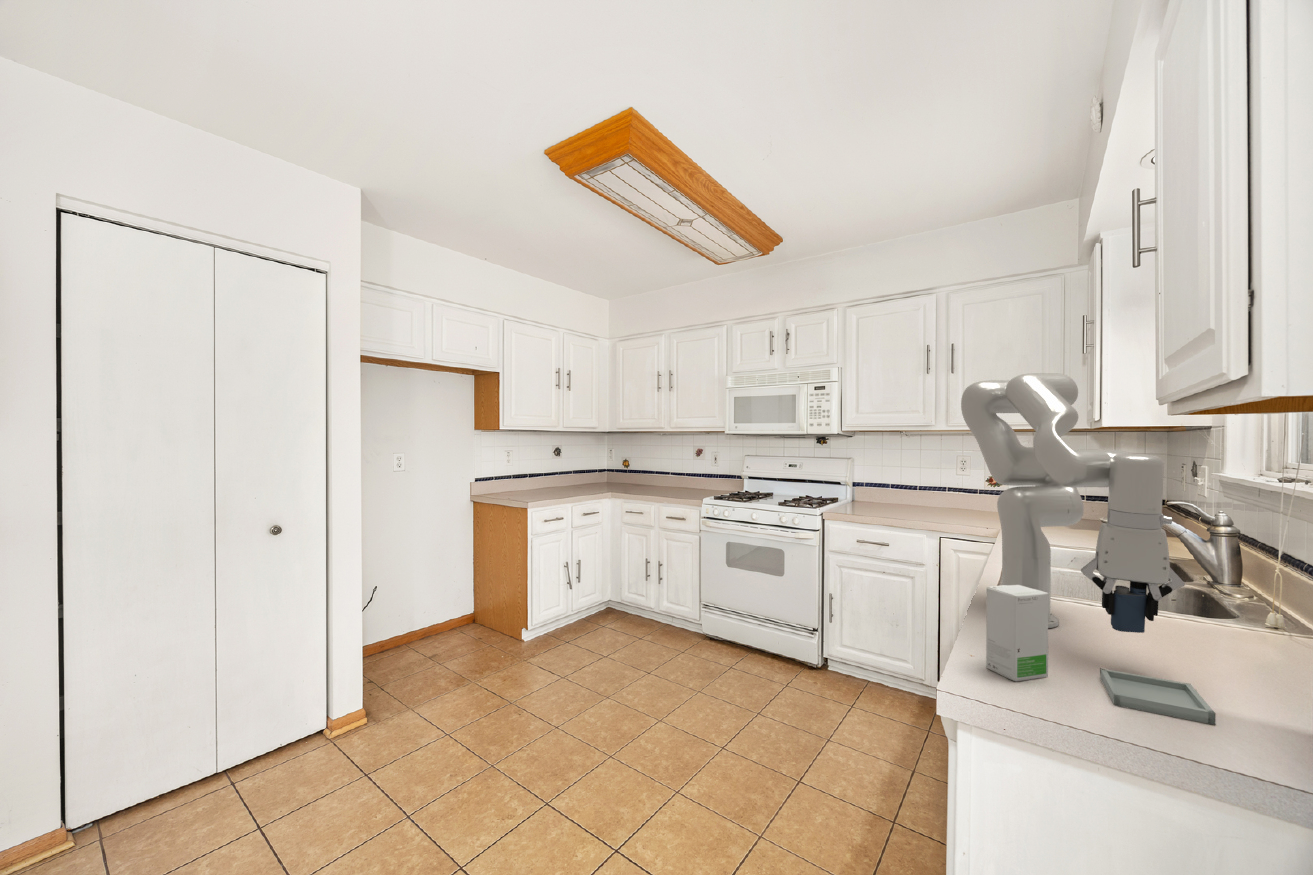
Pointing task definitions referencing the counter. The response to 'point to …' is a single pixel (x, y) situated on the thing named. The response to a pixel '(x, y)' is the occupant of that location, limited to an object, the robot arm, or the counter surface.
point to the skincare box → (1017, 632)
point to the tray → (1156, 696)
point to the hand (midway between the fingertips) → (1128, 614)
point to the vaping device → (1129, 608)
